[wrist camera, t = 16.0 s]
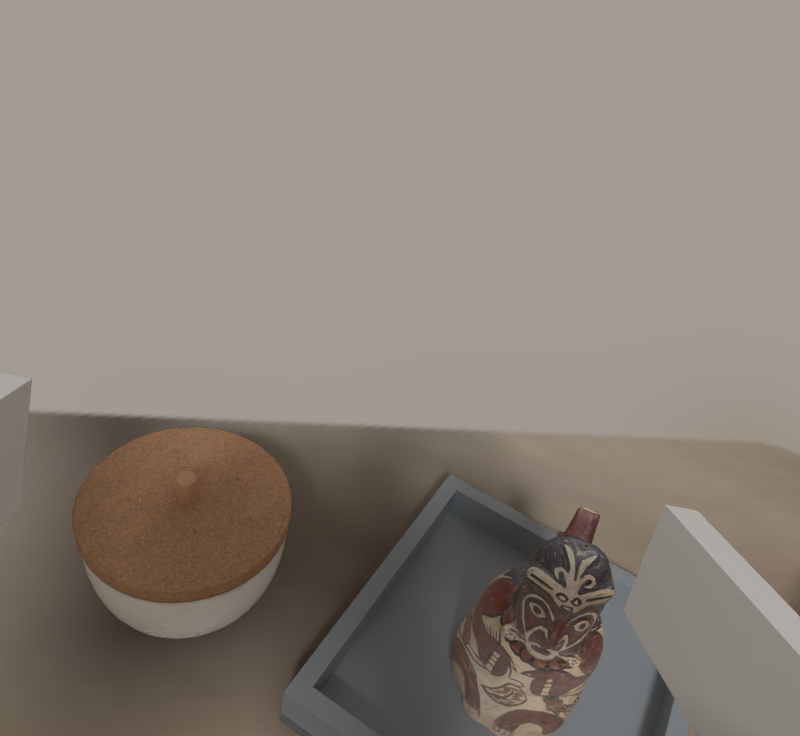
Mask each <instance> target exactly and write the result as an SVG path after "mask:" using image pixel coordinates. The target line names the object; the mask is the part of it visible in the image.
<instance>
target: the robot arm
mask: <svg viewBox="0 0 800 736" xmlns="http://www.w3.org/2000/svg"><path fill="white" fill-rule="evenodd" d="M31 382H32V379H31V378H26V377H21V376H16V375H11V374H6V373H1V372H0V525H1V524H2V523H3V522H4V521H5V520H6V519H7V518H8V517H9V516H10V515H11V514H12V513H13V512H14V511H15V510H16V509H17V508H18V507H19V506H20V503H21V492H22V481H23V470H24V459H25V448H26V437H27V426H28V415H29V404H30V393H31ZM623 612H624V613H625V615H626V617H627V619H628V620H629V622H630V624H631V625H632V627H633V629H634V630H635V632H636V634H637V636H638V637H639V639H640V641H641V642H642V644H643V646H644V647H645V649H646V651H647V653H648V654H649V656H650V658H651V659H652V661H653V663H654V664H655V666H656V668H657V670H658V671H659V673H660V675H661V676H662V678H663V680H664V682H665V683H666V685H667V687H668V688H669V690H670V692H671V693H672V695H673V697H674V699H675V700H676V702H677V704H678V705H679V707H680V709H681V710H682V712H683V714H684V716H685V717H686V719H687V721H688V722H689V724H690V726H691V727H692V729H693V731H694V733H695V734H696V736H800V616H799V615H798V614H797V613H796V612H795V611H794V610H793V609H792V608H791V607H790V606H789V605H788V604H787V603H786V602H785V601H784V600H783V599H782V598H781V597H780V596H779V595H778V594H777V593H776V592H775V590H774V589H773V588H772V587H771V586H770V585H769V584H768V583H767V582H766V581H765V580H764V579H763V578H762V577H761V576H760V575H759V574H758V573H757V572H756V571H755V570H754V569H753V568H752V567H751V566H750V565H749V564H748V563H747V562H746V561H745V559H744V558H743V557H742V556H741V555H740V554H739V553H738V552H737V551H736V550H735V549H734V548H733V547H732V546H731V545H730V544H729V543H728V542H727V541H726V540H725V539H724V538H723V537H722V536H721V535H720V534H719V533H718V532H717V531H716V530H715V528H714V527H713V526H712V525H711V524H710V523H709V522H708V521H707V520H706V519H705V518H704V517H703V516H702V515H701V514H700V513H699V512H698V511H695V510H690V509H685V508H680V507H675V506H670V505H665V506H664V509H663V511H662V514H661V516H660V519H659V522H658V524H657V527H656V529H655V532H654V534H653V537H652V539H651V542H650V544H649V547H648V549H647V552H646V555H645V557H644V560H643V562H642V565H641V567H640V570H639V572H638V575H637V577H636V580H635V583H634V585H633V588H632V590H631V593H630V595H629V598H628V600H627V603H626V605H625V608H624V610H623Z"/></svg>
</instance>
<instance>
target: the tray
mask: <svg viewBox="0 0 800 736" xmlns="http://www.w3.org/2000/svg"><path fill="white" fill-rule="evenodd" d="M557 534H558V533H556V532H554V531H552V530H551V529H549V528H547V527H545V526H543V525H542V524H540V523H538V522H536V521H534V520H533V519H531V518H529V517H527V516H525V515H524V514H522V513H520V512H518V511H516V510H515V509H513V508H511V507H509V506H507V505H506V504H504V503H502V502H500V501H498V500H497V499H495V498H493V497H491V496H489V495H488V494H486V493H484V492H482V491H480V490H479V489H477V488H475V487H473V486H471V485H470V484H468V483H466V482H464V481H462V480H461V479H459V478H457V477H455V476H453V475H452V474H450V475H449V476H448V477H447V479H446V480H445V481H444V483H443V484H442V485H441V486H440V488H439V489H438V490H437V492H436V493H435V494H434V496H433V497H432V498H431V500H430V501H429V502H428V503H427V505H426V506H425V507H424V509H423V510H422V511H421V513H420V514H419V515H418V517H417V518H416V519H415V520H414V522H413V523H412V524H411V526H410V527H409V528H408V530H407V531H406V532H405V534H404V535H403V536H402V537H401V539H400V540H399V541H398V543H397V544H396V545H395V547H394V548H393V549H392V551H391V552H390V553H389V555H388V556H387V557H386V558H385V560H384V561H383V562H382V564H381V565H380V566H379V568H378V569H377V570H376V572H375V573H374V574H373V575H372V577H371V578H370V579H369V581H368V582H367V583H366V585H365V586H364V587H363V589H362V590H361V591H360V592H359V594H358V595H357V596H356V598H355V599H354V600H353V602H352V603H351V604H350V606H349V607H348V608H347V609H346V611H345V612H344V613H343V615H342V616H341V617H340V619H339V620H338V621H337V623H336V624H335V625H334V627H333V628H332V629H331V630H330V632H329V633H328V634H327V636H326V637H325V638H324V640H323V641H322V642H321V644H320V645H319V646H318V647H317V649H316V650H315V651H314V653H313V654H312V655H311V657H310V658H309V659H308V661H307V662H306V663H305V664H304V666H303V667H302V668H301V670H300V671H299V672H298V674H297V675H296V676H295V678H294V679H293V680H292V682H291V683H290V684H289V685H288V687H287V688H286V689H285V691H284V693H283V700H282V707H281V714H280V720H282V721H283V722H284V723H286V724H287V725H288V726H290V727H291V728H292V729H294V730H295V731H296V732H298V733H299V734H300V735H302V736H498V735H496V734H494V733H493V732H492V731H490V730H489V729H488V728H487V727H485V726H484V725H482V724H481V723H479V722H477V721H475V720H474V719H472V718H471V717H470V716H469V714H468V712H467V711H466V709H465V707H464V704H463V702H462V694H461V693H460V691H459V689H458V686H457V683H456V681H455V679H454V675H453V667H452V663H451V660H450V656H451V647H452V644H453V641H454V638H455V636H456V634H457V631H458V629H459V627H460V625H461V624H462V622H463V620H464V619H465V618H466V616H467V615H468V614H469V613H470V612H471V610H472V609H473V608H474V606H475V605H476V604H477V602H478V601H479V599H480V598H481V596H482V594H483V592H484V591H485V590H486V588H487V587H488V586H489V585H490V583H491V582H492V581H493V580H494V579H495V578H496V577H498V576H499V575H501V574H503V573H504V572H506V571H508V570H509V569H512V568H515V567H518V566H521V565H524V564H529V562H530V559H531V557H532V555H533V554H534V552H535V551H536V550H537V549H538V548H539V546H541V545H542V544H544V543H545V542H547V541H548V540H550V539H552V538H555V537H556V536H557ZM609 565H610V568H611V573H612V579H613V584H614V588H615V595H614V596H613V598H612V599H610V600H609V601H608V602H607V603H606V604H605V606H604V608H603V610H602V612H601V614H600V616H601V619H602V623H603V632H604V646H603V651H602V654H601V657H600V659H599V662H598V664H597V666H596V668H595V669H594V671H593V673H592V675H591V677H590V678H589V680H588V682H587V684H586V685H585V687H584V689H583V691H582V693H581V696H580V698H579V700H578V702H577V704H576V705H575V707H574V708H573V710H572V712H571V713H570V714H569V716H568V717H567V719H566V721H565V722H564V724H563V725H561V726H560V727H559V728H558V729H557V730H556V731H555V732H554V733H553V734H551V735H549V736H687V734H688V729H689V722H688V721H687V719H686V717H685V716H684V714H683V712H682V710H681V709H680V707H679V705H678V704H677V702H676V700H675V699H674V697H673V695H672V693H671V692H670V690H669V688H668V687H667V685H666V683H665V682H664V680H663V678H662V676H661V675H660V673H659V671H658V670H657V668H656V666H655V664H654V663H653V661H652V659H651V658H650V656H649V654H648V653H647V651H646V649H645V647H644V646H643V644H642V642H641V641H640V639H639V637H638V636H637V634H636V632H635V630H634V629H633V627H632V625H631V624H630V622H629V620H628V619H627V617H626V615H625V613H624V612H623V610H624V608H625V605H626V603H627V600H628V598H629V595H630V593H631V590H632V588H633V585H634V583H635V580H636V577H635V576H633V575H631V574H630V573H628V572H626V571H624V570H622V569H621V568H619V567H617V566H615V565H613V564H612V563H610V562H609Z"/></svg>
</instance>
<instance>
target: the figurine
mask: <svg viewBox="0 0 800 736" xmlns="http://www.w3.org/2000/svg"><path fill="white" fill-rule="evenodd" d="M599 518H600V514H599V513H598V512H596V511H594V510H590V509H587V508H585V507H580V508H578V510H577V512H576V514H575V515H574V517H573V519H572V521H571V522H570V524H569V526H568V528H567V529H566V531H565V532H560V531H559V533H558V534H557V536H556V537H555V538H552V539H550V540H548V541H547V542H545V543H544V544H542V545H541V546H539V548H538V549H537V550H536V551H535V552H534V554H533V555H532V557H531V559H530V562H529V564H524V565H521V566H518V567H515V568H512V569H509V570H508V571H506V572H504V573H503V574H501V575H499V576H498V577H496V578H495V579H494V580H493V581H492V582H491V583H490V585H489V586H488V587H487V588H486V590H485V591H484V592H483V594H482V596H481V598H480V599H479V601H478V602H477V604H476V605H475V606H474V608H473V609H472V610H471V612H470V613H469V614H468V615H467V616H466V618H465V619H464V620H463V622H462V624H461V625H460V627H459V629H458V631H457V634H456V636H455V638H454V641H453V644H452V647H451V656H450V660H451V663H452V667H453V675H454V679H455V681H456V683H457V686H458V689H459V691H460V693H461V694H462V702H463V704H464V707H465V709H466V711H467V712H468V714H469V716H470V717H471V718H472V719H474V720H475V721H477V722H479V723H481V724H482V725H484V726H485V727H487V728H488V729H489V730H490V731H492V732H493V733H494V734H496V735H498V736H549V735H551V734H553V733H554V732H555V731H556V730H557V729H558V728H559V727H560V726H561V725H563V724H564V722H565V721H566V719H567V717H568V716H569V714H570V713H571V712H572V710H573V708H574V707H575V705H576V704H577V702H578V700H579V698H580V696H581V693H582V691H583V689H584V687H585V685H586V684H587V682H588V680H589V678H590V677H591V675H592V673H593V671H594V669H595V668H596V666H597V664H598V662H599V659H600V657H601V654H602V651H603V646H604V632H603V623H602V619H601V616H600V614H601V612H602V610H603V608H604V606H605V604H606V603H607V602H608V601H609V600H610V599H612V598H613V596H614V595H615V588H614V584H613V579H612V573H611V568H610V565H609V561H608V559H607V557H606V556H605V554H604V553H603V552H602V551H601V550H600V549H599V548H598V547H596V546H595V545H593V544H592V540H593V537H594V534H595V530H596V527H597V524H598V521H599Z"/></svg>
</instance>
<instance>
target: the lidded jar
mask: <svg viewBox="0 0 800 736" xmlns="http://www.w3.org/2000/svg"><path fill="white" fill-rule="evenodd" d="M291 511H292V495H291V489H290V485H289V482H288V479H287V477H286V475H285V473H284V471H283V469H282V468H281V466H280V465H279V464H278V463H277V461H276V460H275V459H274V458H273V457H272V456H271V455H270V454H269V453H268V452H267V451H266V450H264V449H263V448H261V447H260V446H259V445H257V444H256V443H254V442H253V441H250V440H248V439H246V438H244V437H242V436H240V435H237V434H234V433H231V432H228V431H223V430H219V429H213V428H204V427H182V428H172V429H166V430H162V431H157V432H153V433H150V434H147V435H144V436H141V437H138V438H136V439H134V440H132V441H130V442H128V443H126V444H124V445H123V446H121V447H119V448H118V449H116V450H114V451H113V452H111V453H110V454H109V455H108V456H107V457H105V458H104V459H103V460H102V461H101V462H99V463H98V465H97V466H96V467H95V468H94V469H93V470H92V471H91V472H90V473H89V475H88V476H87V478H86V479H85V481H84V482H83V484H82V485H81V487H80V490H79V492H78V494H77V496H76V499H75V504H74V508H73V530H74V535H75V539H76V544H77V547H78V550H79V552H80V554H81V556H82V559H83V563H84V567H85V570H86V573H87V575H88V577H89V579H90V581H91V583H92V586H93V588H94V590H95V592H96V594H97V595H98V596H99V598H100V599H101V600H102V602H103V603H104V604H105V605H106V607H107V608H108V609H109V611H110V612H111V613H113V614H114V615H115V616H116V617H117V618H118V619H119V620H121V621H122V622H124V623H126V624H127V625H129V626H131V627H132V628H134V629H136V630H138V631H140V632H143V633H145V634H148V635H152V636H156V637H161V638H173V639H181V638H193V637H197V636H202V635H206V634H209V633H212V632H214V631H217V630H220V629H222V628H224V627H226V626H227V625H229V624H231V623H233V622H234V621H236V620H237V619H239V618H240V617H241V616H243V615H244V614H245V613H246V612H247V611H248V610H249V609H250V608H251V607H252V606H253V605H254V604H255V603H256V602H257V601H258V600H259V599H260V598H261V596H262V595H263V594H264V592H265V591H266V590H267V588H268V586H269V584H270V582H271V581H272V579H273V577H274V575H275V573H276V571H277V569H278V566H279V563H280V560H281V556H282V553H283V550H284V546H285V541H286V535H287V531H288V528H289V525H290V520H291Z"/></svg>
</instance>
